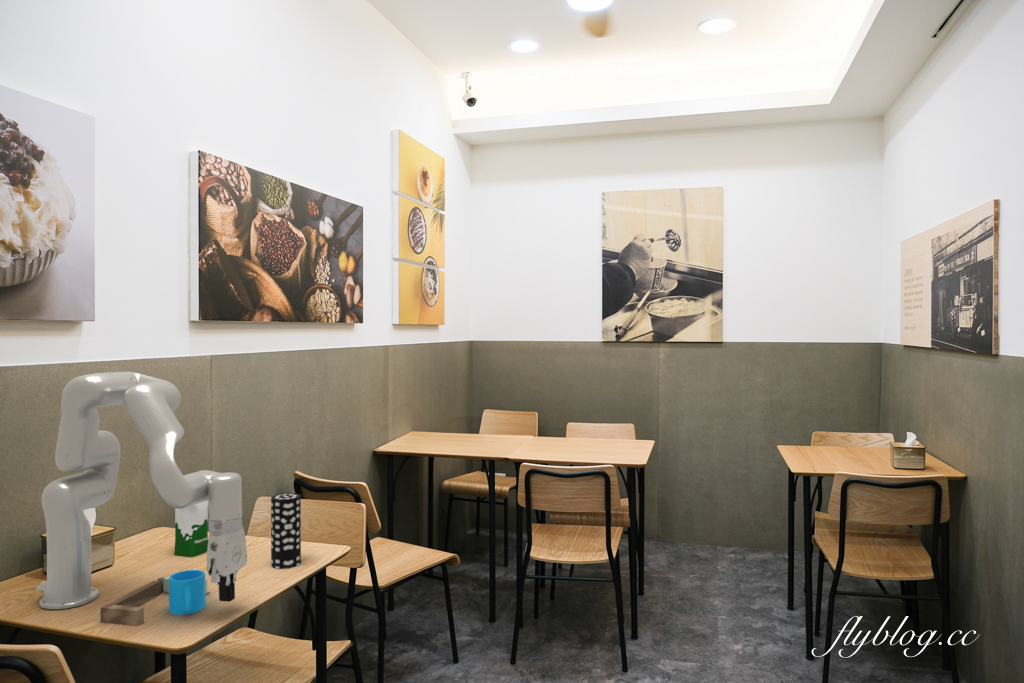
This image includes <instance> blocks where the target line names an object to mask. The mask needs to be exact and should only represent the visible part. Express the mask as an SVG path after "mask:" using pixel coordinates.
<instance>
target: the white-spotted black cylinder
mask: <svg viewBox="0 0 1024 683" xmlns="http://www.w3.org/2000/svg"><path fill="white" fill-rule="evenodd" d="M301 497H302V495H301V494H299V493H294V492H293V493H290V492H289V493H280V494H276V495H272V496H271V497H270V521H271V522H270V539H271V540H270V550H271V551H270V555H271V556H270V557H271V558H270V562H271V564H270V566H271V567H272V569H273V568H274V569H277V570H278V569H279V570H284V569H285V570H286V569H292V568H295V567H297V566H300V564H301V561H302V559H301V558H302V557H301V556H302V552H301V551H302V548H301V547H302V545H301V544H302V543H301V542H302V541H301V540H302V536H301V535H302V527H301V526H302V519H301V517H302V515H301V514H302V511H301V509H302V507H301V506H302V502H301V501H302V500H301Z"/></svg>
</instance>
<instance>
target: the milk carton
mask: <svg viewBox="0 0 1024 683" xmlns="http://www.w3.org/2000/svg"><path fill="white" fill-rule="evenodd" d="M174 512H175V513H174V518H175V519H174V526H175V527H174V528H175V529H174V530H175V532H174V534H175V538H174V552H173V555H174V556H182V557H187V558H193V557H196V556H199V555H201V554H203V553H205V552H206V553H207V548H208V539H209V503H208V501H205V502H201V503H198V504H196V505H193V506H190V507H188V508H184V509H176V508H174Z"/></svg>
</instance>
